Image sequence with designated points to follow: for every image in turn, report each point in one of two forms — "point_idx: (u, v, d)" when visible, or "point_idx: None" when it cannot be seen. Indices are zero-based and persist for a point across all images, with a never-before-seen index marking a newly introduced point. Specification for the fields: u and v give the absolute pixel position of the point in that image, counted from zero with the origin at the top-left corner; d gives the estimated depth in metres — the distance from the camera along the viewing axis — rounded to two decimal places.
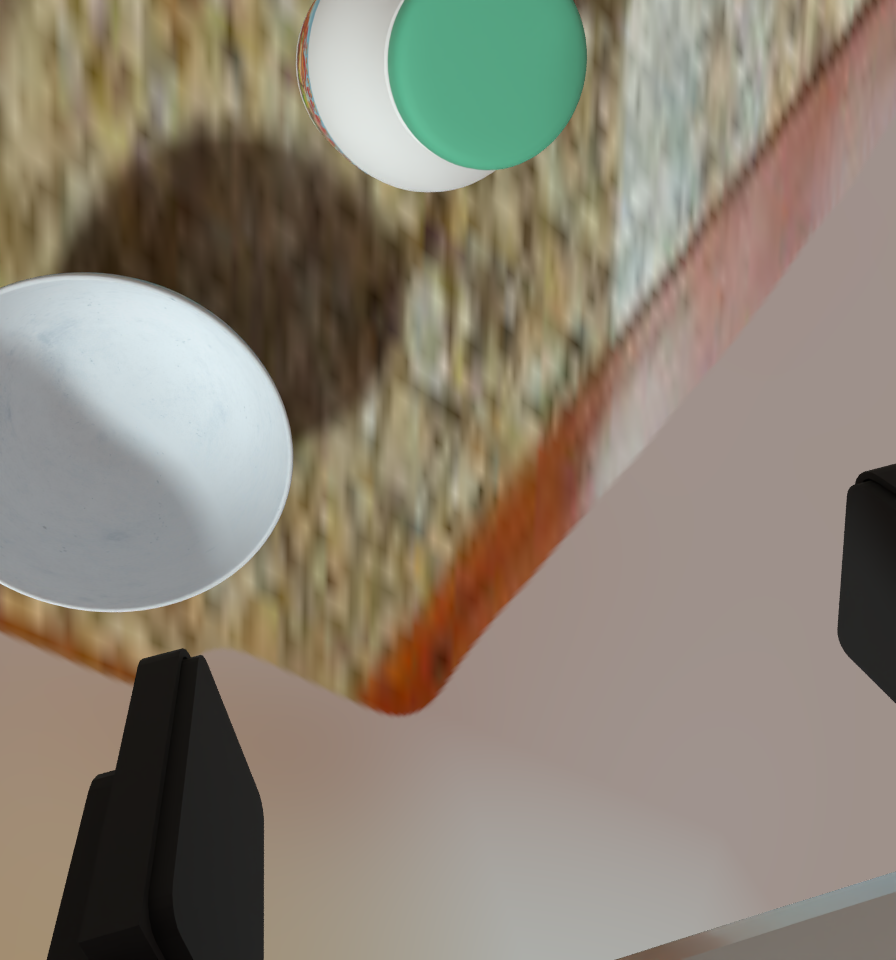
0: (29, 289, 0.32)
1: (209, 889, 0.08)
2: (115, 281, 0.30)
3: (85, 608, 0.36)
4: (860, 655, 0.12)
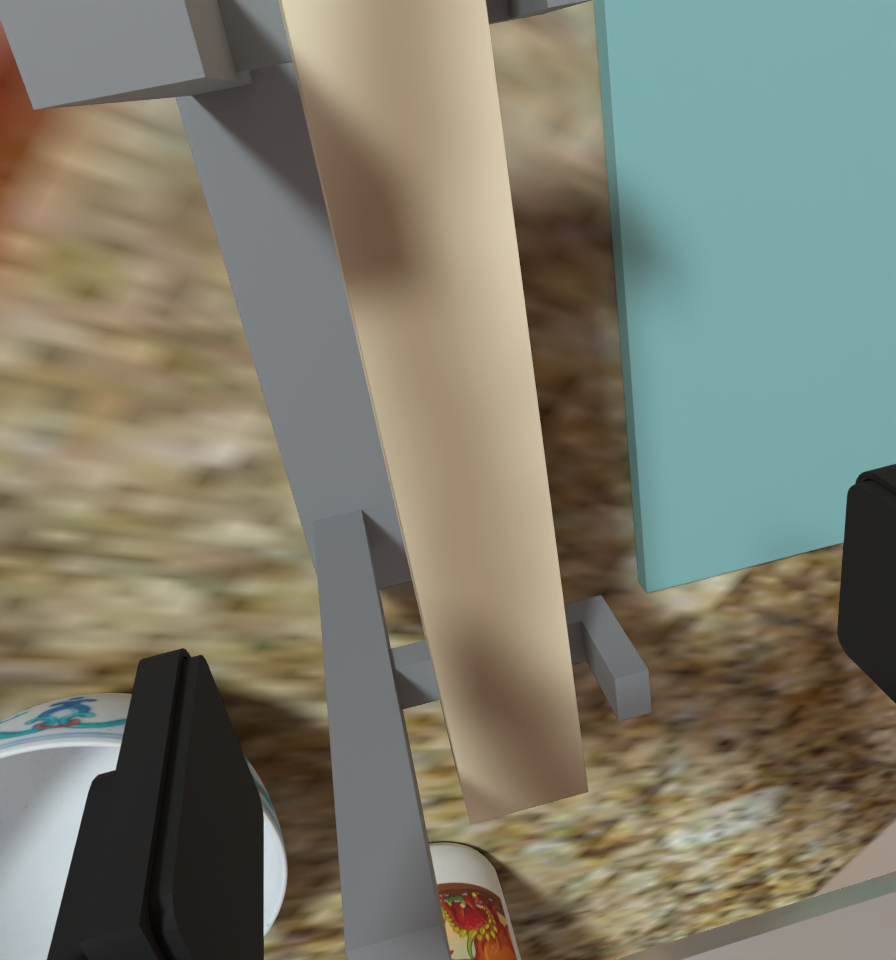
0: None
1: (209, 889, 0.08)
2: (282, 890, 0.33)
3: None
4: (860, 655, 0.12)
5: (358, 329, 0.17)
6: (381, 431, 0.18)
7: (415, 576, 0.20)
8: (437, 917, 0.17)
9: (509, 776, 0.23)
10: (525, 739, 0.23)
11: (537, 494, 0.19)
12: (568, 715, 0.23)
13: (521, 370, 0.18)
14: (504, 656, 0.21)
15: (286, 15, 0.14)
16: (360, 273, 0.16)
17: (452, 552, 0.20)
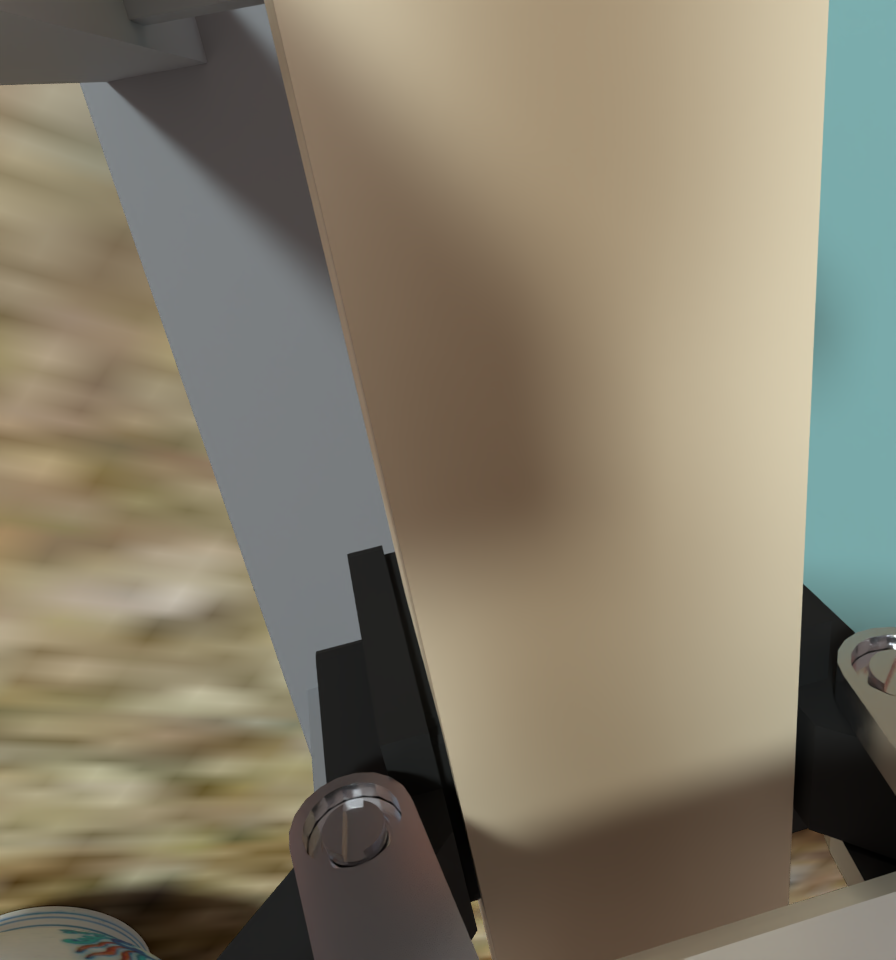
0: None
1: None
2: None
3: None
4: None
5: (425, 639, 0.07)
6: (466, 821, 0.08)
7: None
8: None
9: None
10: None
11: (766, 886, 0.10)
12: None
13: (773, 685, 0.08)
14: None
15: None
16: (436, 524, 0.07)
17: None
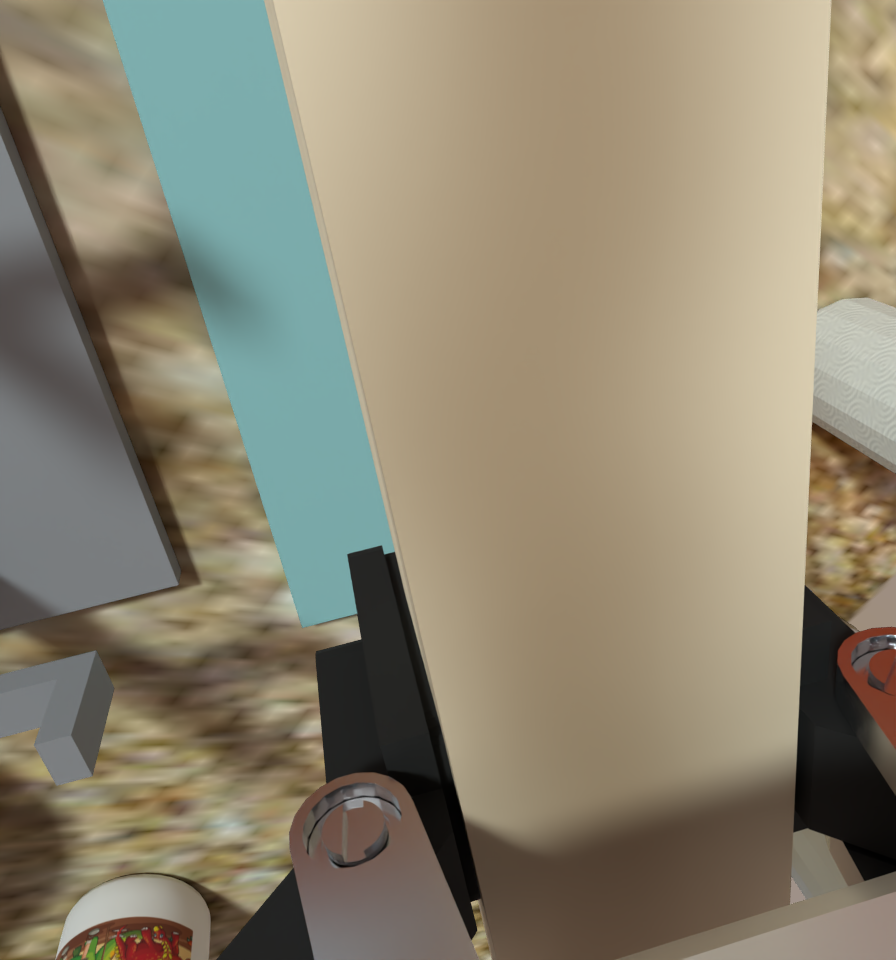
0: None
1: None
2: None
3: None
4: None
5: (425, 637, 0.07)
6: (466, 821, 0.08)
7: None
8: None
9: None
10: None
11: (767, 885, 0.10)
12: None
13: (775, 683, 0.08)
14: None
15: None
16: (436, 522, 0.07)
17: None
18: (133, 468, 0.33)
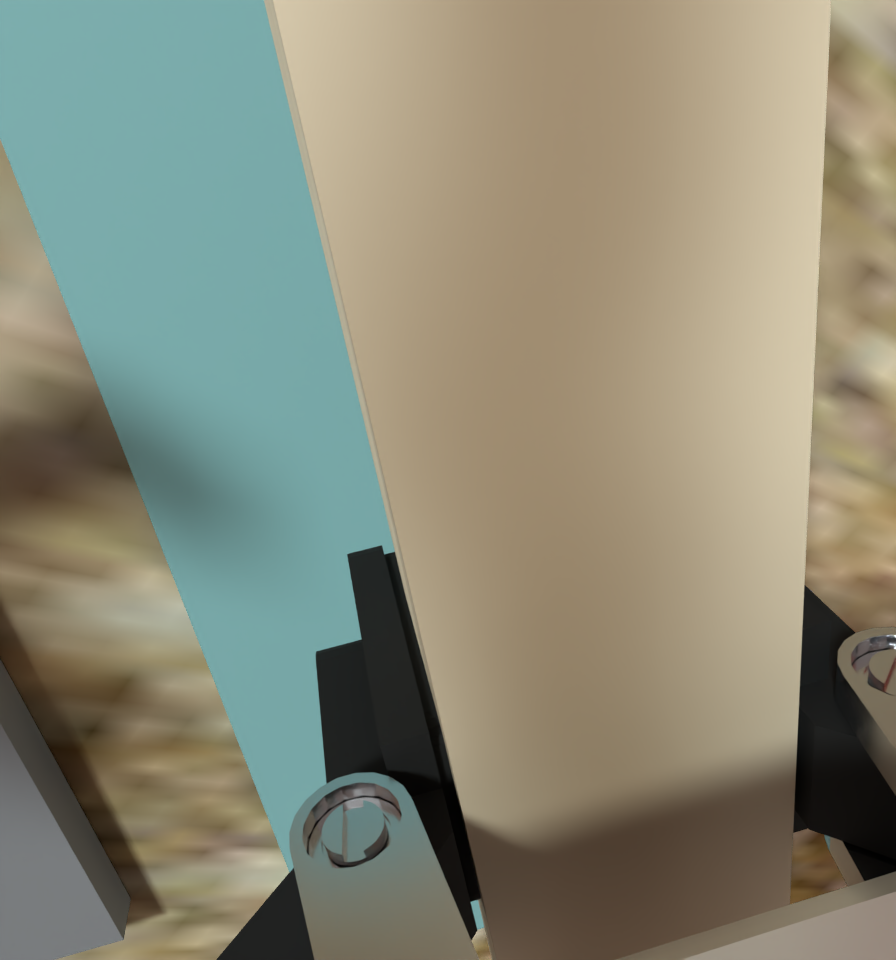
0: None
1: None
2: None
3: None
4: None
5: (424, 636, 0.07)
6: (466, 819, 0.08)
7: None
8: None
9: None
10: None
11: (767, 884, 0.10)
12: None
13: (776, 683, 0.08)
14: None
15: None
16: (435, 519, 0.07)
17: None
18: (36, 779, 0.19)
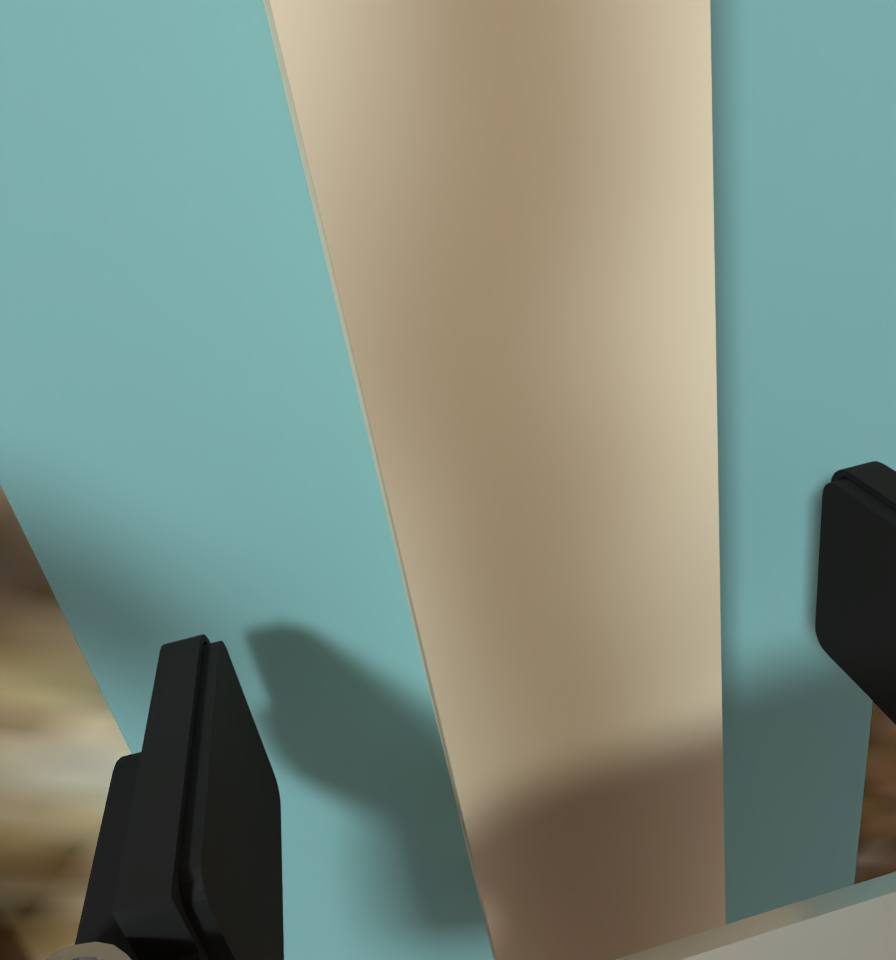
0: None
1: (234, 866, 0.08)
2: None
3: None
4: (836, 651, 0.12)
5: (401, 542, 0.09)
6: (439, 706, 0.10)
7: (488, 911, 0.12)
8: None
9: None
10: None
11: (702, 777, 0.11)
12: None
13: (699, 591, 0.10)
14: None
15: None
16: (408, 441, 0.08)
17: (553, 871, 0.11)
18: None
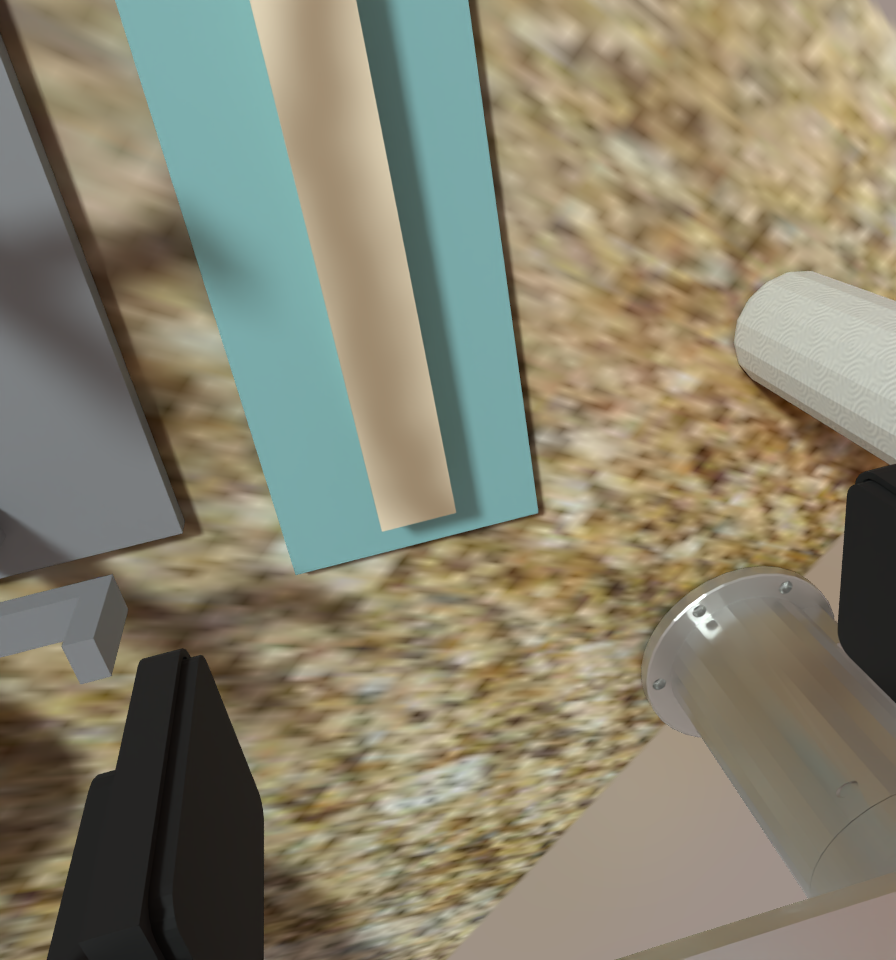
0: None
1: (209, 889, 0.08)
2: None
3: None
4: (860, 655, 0.12)
5: (300, 200, 0.31)
6: (315, 261, 0.32)
7: (339, 354, 0.34)
8: None
9: (404, 497, 0.38)
10: (412, 471, 0.37)
11: (408, 304, 0.34)
12: (438, 455, 0.37)
13: (393, 227, 0.32)
14: (395, 411, 0.36)
15: (258, 30, 0.28)
16: (300, 168, 0.31)
17: (360, 339, 0.34)
18: (141, 424, 0.37)
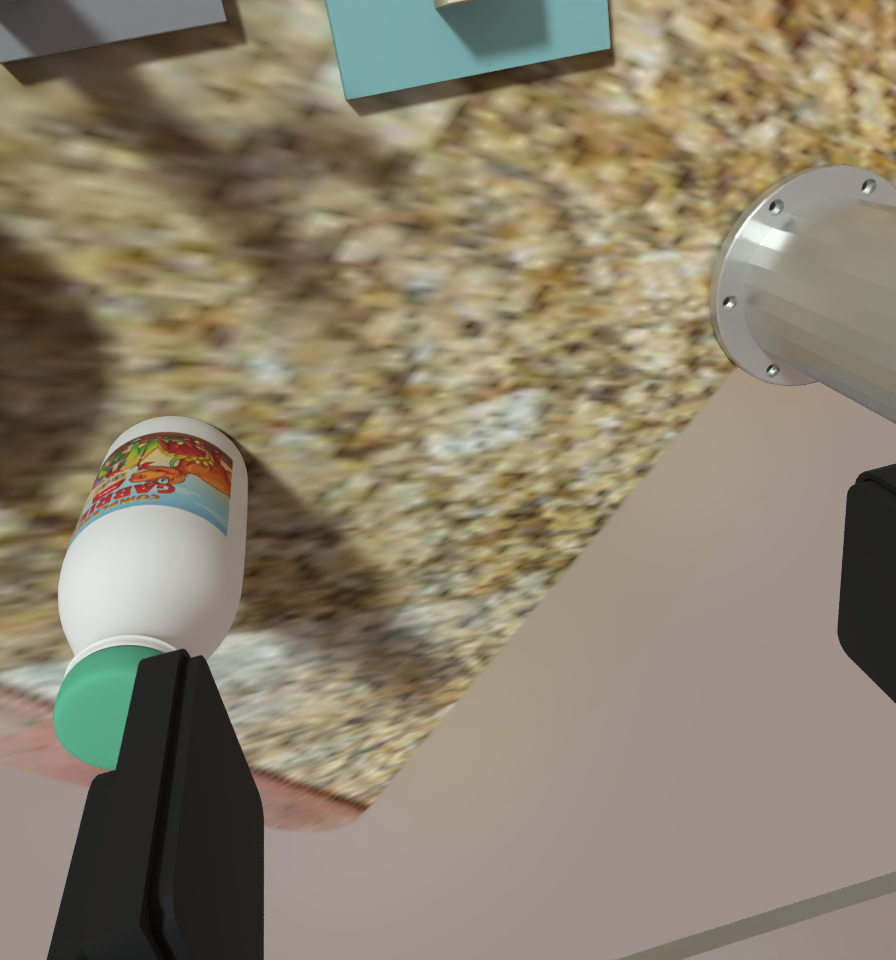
0: None
1: (209, 889, 0.08)
2: None
3: None
4: (860, 655, 0.12)
5: None
6: None
7: None
8: None
9: None
10: None
11: None
12: None
13: None
14: None
15: None
16: None
17: None
18: None
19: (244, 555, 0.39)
